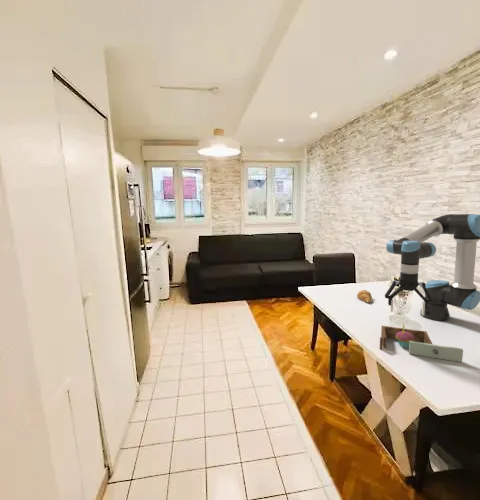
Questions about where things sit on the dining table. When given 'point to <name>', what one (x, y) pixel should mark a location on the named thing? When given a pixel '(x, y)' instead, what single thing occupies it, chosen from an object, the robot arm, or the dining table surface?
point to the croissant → (365, 296)
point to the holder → (391, 331)
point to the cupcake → (404, 338)
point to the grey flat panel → (436, 351)
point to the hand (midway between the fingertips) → (406, 312)
